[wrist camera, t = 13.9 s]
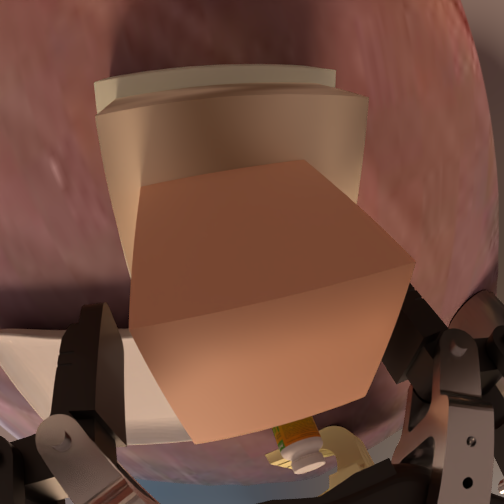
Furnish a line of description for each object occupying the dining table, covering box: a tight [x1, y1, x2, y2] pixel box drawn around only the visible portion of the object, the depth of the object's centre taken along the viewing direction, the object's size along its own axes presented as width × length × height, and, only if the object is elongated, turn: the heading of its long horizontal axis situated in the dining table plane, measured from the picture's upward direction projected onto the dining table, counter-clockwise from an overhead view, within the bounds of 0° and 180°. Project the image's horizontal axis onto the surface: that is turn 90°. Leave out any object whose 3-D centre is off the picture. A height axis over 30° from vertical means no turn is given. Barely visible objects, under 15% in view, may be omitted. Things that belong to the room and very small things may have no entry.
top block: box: [95, 82, 369, 274], centre depth 13 cm, size 9×9×4 cm
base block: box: [94, 64, 336, 278], centre depth 17 cm, size 11×11×4 cm
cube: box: [129, 160, 416, 444], centre depth 9 cm, size 6×6×6 cm
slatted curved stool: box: [265, 426, 375, 497], centre depth 46 cm, size 30×16×18 cm, turn 29°
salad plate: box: [0, 328, 192, 445], centre depth 27 cm, size 21×21×3 cm
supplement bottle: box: [272, 416, 325, 474], centre depth 35 cm, size 5×5×10 cm
